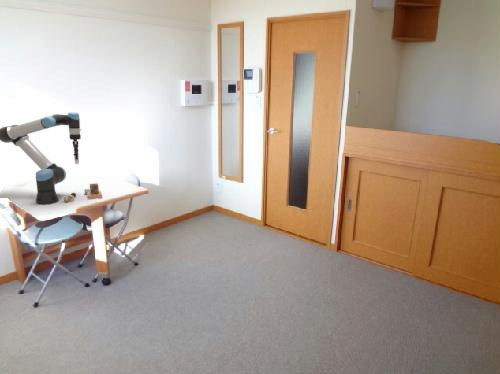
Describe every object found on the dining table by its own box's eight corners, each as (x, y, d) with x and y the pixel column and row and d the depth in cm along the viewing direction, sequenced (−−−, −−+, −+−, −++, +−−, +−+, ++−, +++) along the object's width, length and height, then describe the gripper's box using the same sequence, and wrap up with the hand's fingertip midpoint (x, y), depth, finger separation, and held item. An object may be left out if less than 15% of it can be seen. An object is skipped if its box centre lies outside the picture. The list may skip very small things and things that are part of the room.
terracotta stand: (88, 199, 298) (87, 195, 297) (87, 195, 307) (87, 192, 306) (102, 198, 302) (101, 194, 301) (101, 194, 311) (100, 190, 310)
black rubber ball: (71, 198, 299) (70, 193, 298) (71, 196, 303) (70, 192, 302) (76, 197, 301) (75, 193, 300) (76, 196, 304) (75, 191, 303)
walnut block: (90, 194, 300) (89, 185, 298) (90, 192, 305) (89, 183, 303) (98, 193, 302) (98, 185, 300) (98, 191, 307) (97, 183, 305)
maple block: (66, 202, 288) (65, 197, 287) (64, 201, 291) (63, 196, 290) (74, 201, 292) (74, 196, 291) (72, 200, 295) (72, 195, 294)
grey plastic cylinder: (84, 195, 308) (84, 190, 307) (84, 193, 311) (84, 189, 310) (90, 194, 309) (89, 190, 308) (90, 193, 313) (89, 188, 312)
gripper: (81, 136, 279) (82, 165, 285) (79, 131, 301) (81, 158, 307) (69, 136, 276) (71, 165, 282) (69, 131, 298) (71, 158, 304)
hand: (76, 161), depth 294 cm, fingers open, 13 cm apart
